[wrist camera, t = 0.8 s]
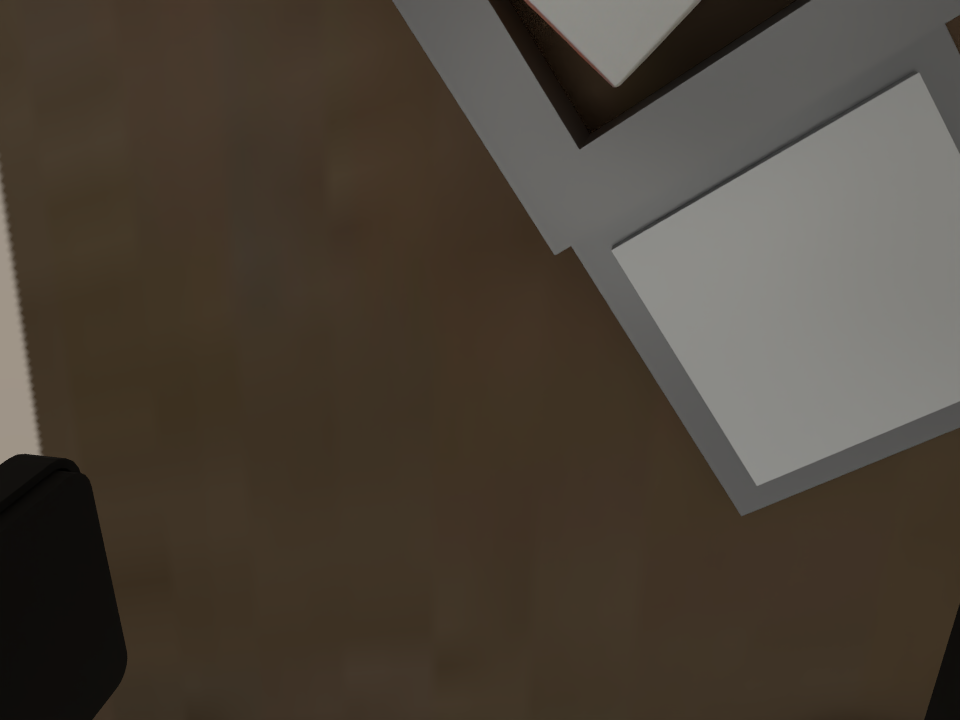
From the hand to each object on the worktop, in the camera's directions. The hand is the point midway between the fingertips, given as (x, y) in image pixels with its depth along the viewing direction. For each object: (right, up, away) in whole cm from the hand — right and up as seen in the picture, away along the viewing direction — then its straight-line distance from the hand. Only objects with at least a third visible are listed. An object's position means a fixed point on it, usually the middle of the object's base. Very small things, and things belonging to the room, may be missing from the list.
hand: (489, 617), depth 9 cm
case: (+10, +13, +25) cm, 30 cm away
